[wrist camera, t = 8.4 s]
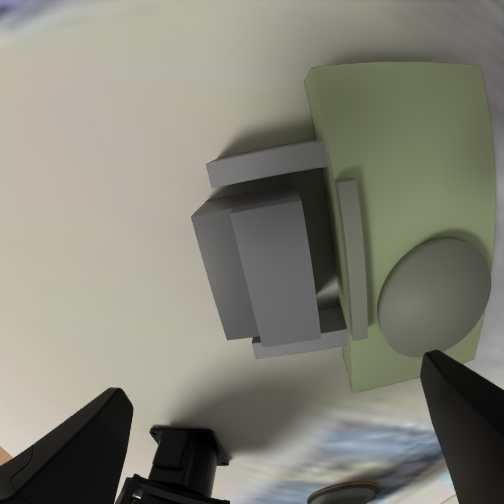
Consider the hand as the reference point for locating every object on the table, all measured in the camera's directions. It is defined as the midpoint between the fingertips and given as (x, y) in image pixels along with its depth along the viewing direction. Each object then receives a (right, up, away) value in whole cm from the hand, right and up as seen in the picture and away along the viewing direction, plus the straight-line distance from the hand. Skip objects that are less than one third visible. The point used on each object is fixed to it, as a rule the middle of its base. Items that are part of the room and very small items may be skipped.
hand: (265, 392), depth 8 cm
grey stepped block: (0, +4, +10) cm, 11 cm away
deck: (+6, +5, +9) cm, 12 cm away
